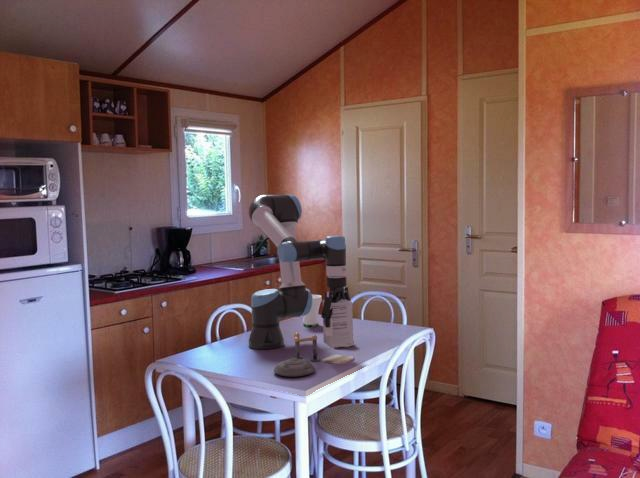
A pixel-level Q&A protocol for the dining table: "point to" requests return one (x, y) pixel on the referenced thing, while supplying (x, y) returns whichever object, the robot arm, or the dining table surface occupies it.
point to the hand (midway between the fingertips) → (337, 331)
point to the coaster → (338, 359)
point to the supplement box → (340, 325)
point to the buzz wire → (297, 340)
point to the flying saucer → (294, 368)
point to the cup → (313, 312)
